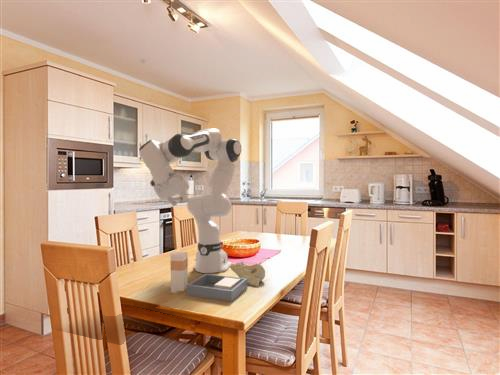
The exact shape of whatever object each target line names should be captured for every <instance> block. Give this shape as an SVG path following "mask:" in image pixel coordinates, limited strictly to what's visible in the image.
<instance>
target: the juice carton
mask: <svg viewBox="0 0 500 375" xmlns="http://www.w3.org/2000/svg"><path fill="white" fill-rule="evenodd" d="M188 260H189V258H188V251H174V252H172V253H171V254H170V293H171V294H177V293H178V292H184V291H185V290H187V289H186V285H187V284H189V281H188V276H189V275H188V274H189V272H188V269H189V268H188V266H189V261H188Z"/></svg>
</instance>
